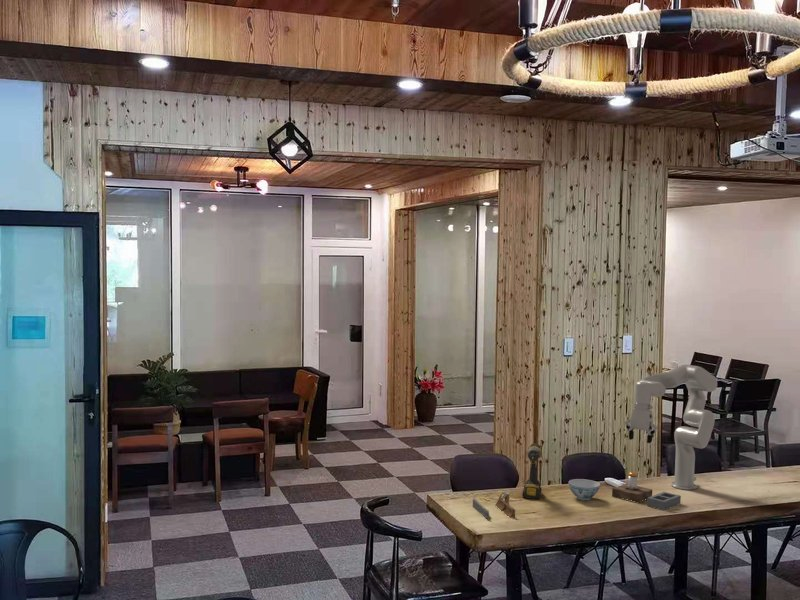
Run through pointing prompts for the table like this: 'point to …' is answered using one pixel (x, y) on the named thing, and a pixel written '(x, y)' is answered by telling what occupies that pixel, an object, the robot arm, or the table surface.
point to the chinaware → (584, 488)
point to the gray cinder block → (663, 500)
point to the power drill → (533, 474)
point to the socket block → (631, 493)
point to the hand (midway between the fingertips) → (640, 441)
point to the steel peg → (632, 481)
